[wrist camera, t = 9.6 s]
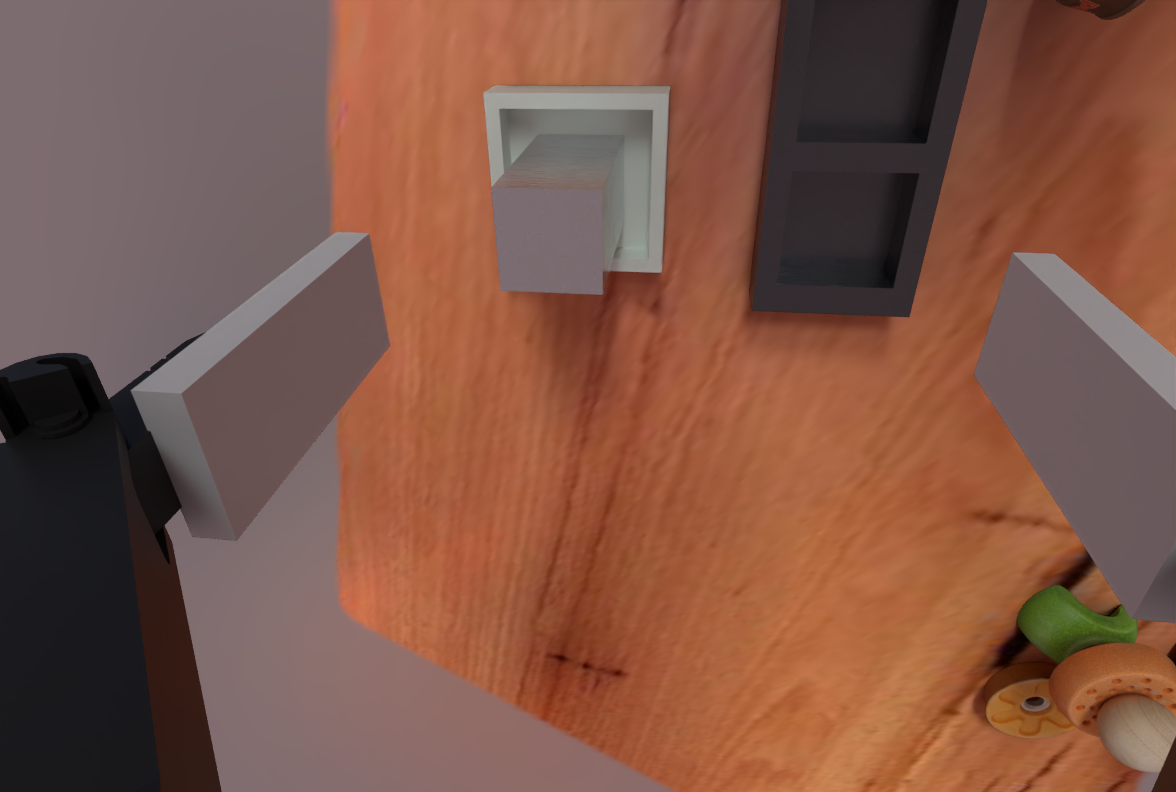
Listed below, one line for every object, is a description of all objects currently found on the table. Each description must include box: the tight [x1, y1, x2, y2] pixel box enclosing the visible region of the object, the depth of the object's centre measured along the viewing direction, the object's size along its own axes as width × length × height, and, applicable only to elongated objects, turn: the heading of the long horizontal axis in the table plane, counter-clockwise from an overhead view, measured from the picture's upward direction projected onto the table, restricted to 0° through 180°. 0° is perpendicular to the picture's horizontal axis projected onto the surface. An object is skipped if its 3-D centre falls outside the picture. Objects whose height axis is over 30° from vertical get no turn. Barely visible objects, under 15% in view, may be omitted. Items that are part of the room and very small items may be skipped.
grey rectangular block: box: [491, 134, 625, 295], centre depth 37 cm, size 5×5×11 cm
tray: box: [483, 85, 671, 273], centre depth 41 cm, size 10×10×2 cm
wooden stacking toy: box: [984, 585, 1176, 773], centre depth 53 cm, size 18×17×12 cm
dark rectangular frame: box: [749, 0, 987, 317], centre depth 38 cm, size 18×9×3 cm, turn 1°
